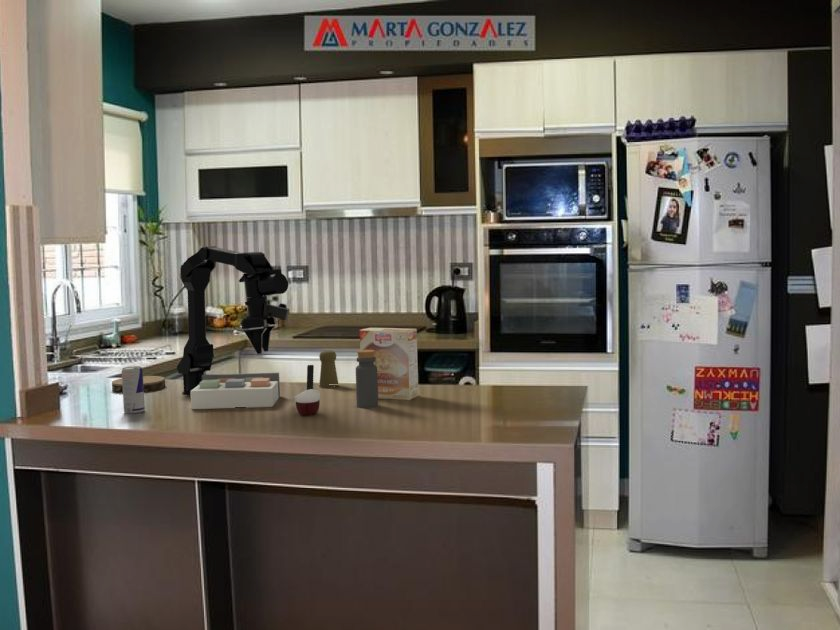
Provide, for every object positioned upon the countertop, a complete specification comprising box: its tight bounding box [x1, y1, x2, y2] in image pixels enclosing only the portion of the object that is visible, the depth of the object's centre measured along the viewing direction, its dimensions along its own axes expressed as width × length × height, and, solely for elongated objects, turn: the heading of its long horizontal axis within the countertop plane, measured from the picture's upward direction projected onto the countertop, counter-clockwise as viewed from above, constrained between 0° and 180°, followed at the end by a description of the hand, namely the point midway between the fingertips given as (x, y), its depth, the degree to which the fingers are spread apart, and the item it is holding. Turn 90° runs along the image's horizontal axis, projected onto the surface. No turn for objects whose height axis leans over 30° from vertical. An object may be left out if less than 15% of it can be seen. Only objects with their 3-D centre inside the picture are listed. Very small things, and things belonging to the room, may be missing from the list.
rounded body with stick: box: [294, 364, 321, 417], centre depth 216 cm, size 10×6×12 cm, turn 153°
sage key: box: [200, 379, 220, 389], centre depth 232 cm, size 5×5×4 cm
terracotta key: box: [251, 378, 270, 387], centre depth 233 cm, size 5×5×4 cm
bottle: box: [355, 349, 379, 409], centre depth 224 cm, size 6×6×15 cm
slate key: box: [225, 379, 245, 388], centre depth 233 cm, size 5×5×4 cm
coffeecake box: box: [359, 327, 419, 401], centre depth 236 cm, size 15×7×20 cm, turn 68°
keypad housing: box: [190, 372, 281, 410], centre depth 234 cm, size 22×15×7 cm
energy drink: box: [121, 365, 146, 415], centre depth 225 cm, size 5×5×12 cm
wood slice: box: [111, 375, 166, 394], centre depth 262 cm, size 16×16×3 cm
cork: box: [318, 349, 339, 389], centre depth 257 cm, size 6×6×11 cm
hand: (263, 352), depth 233 cm, fingers open, 9 cm apart
